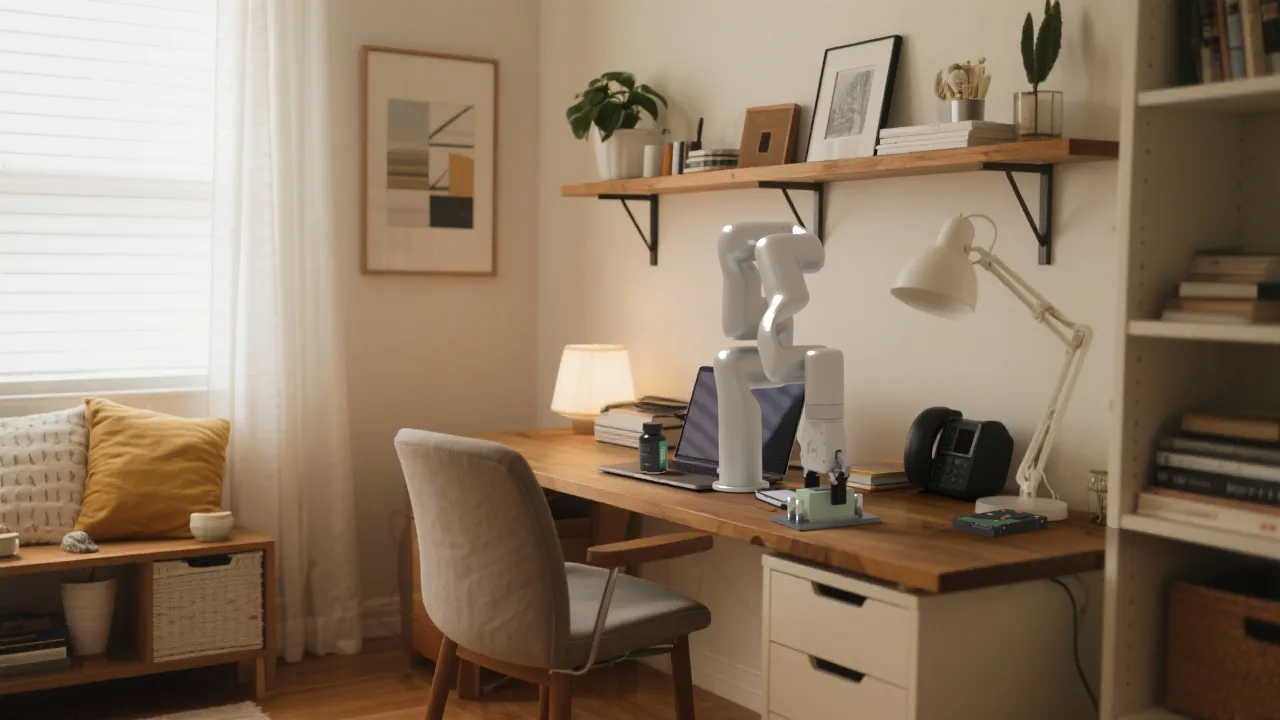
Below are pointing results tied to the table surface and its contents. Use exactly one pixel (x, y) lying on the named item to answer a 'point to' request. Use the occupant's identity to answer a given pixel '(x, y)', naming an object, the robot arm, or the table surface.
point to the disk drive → (999, 523)
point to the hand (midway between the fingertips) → (825, 500)
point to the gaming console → (775, 496)
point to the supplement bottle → (653, 448)
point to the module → (824, 502)
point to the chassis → (800, 523)
